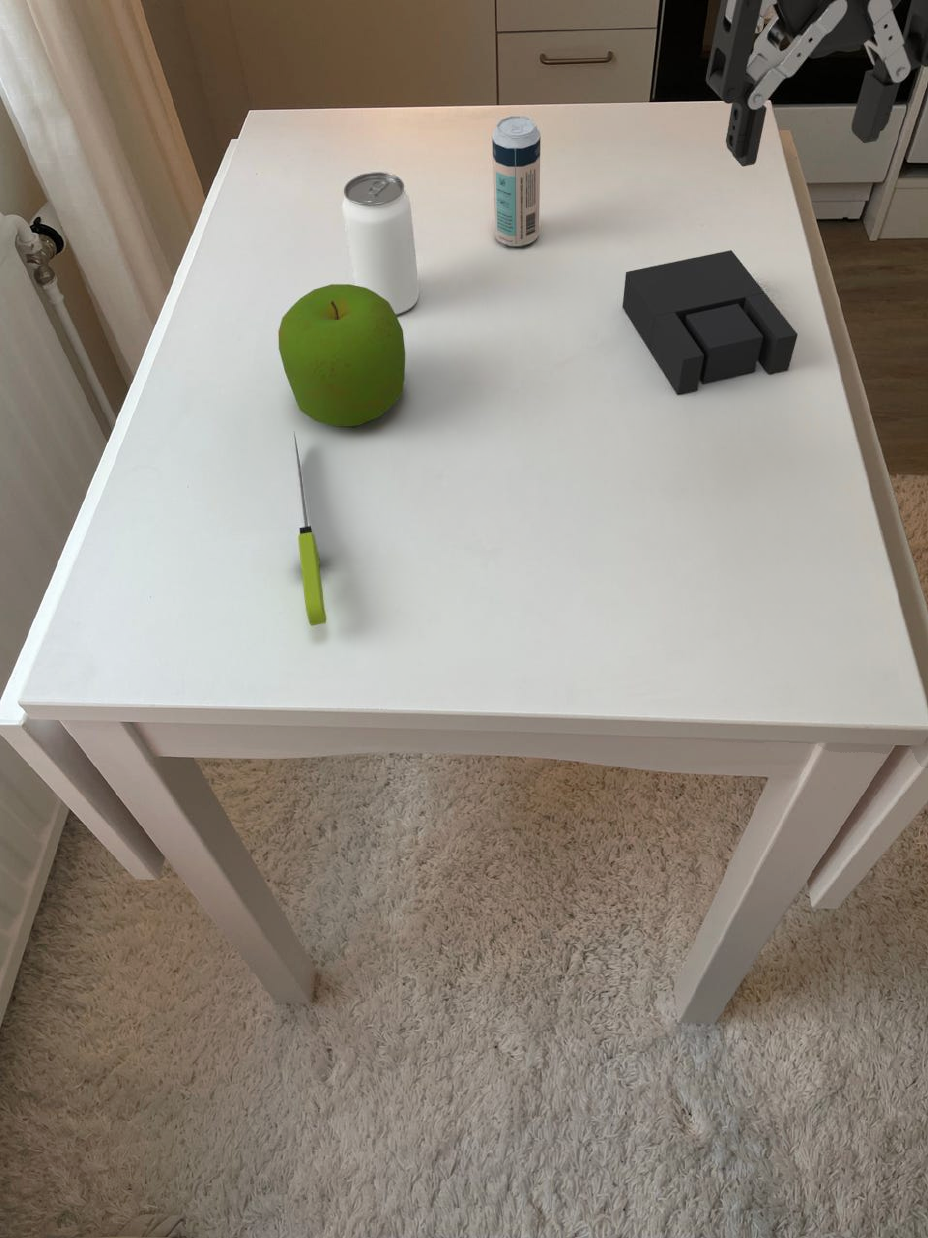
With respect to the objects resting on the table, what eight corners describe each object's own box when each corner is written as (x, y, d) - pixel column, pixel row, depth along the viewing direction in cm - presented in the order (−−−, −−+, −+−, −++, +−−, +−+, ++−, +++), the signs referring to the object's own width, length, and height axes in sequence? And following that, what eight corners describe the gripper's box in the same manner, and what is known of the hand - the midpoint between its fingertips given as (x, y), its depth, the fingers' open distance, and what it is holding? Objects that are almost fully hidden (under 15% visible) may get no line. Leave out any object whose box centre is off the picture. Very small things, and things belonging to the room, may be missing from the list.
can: (346, 311, 97) (327, 200, 87) (373, 276, 100) (357, 164, 91) (404, 324, 95) (391, 211, 86) (429, 287, 99) (419, 175, 89)
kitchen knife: (292, 456, 86) (286, 429, 84) (306, 454, 87) (300, 427, 84) (313, 639, 72) (305, 612, 70) (329, 635, 72) (322, 609, 70)
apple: (406, 439, 85) (393, 338, 77) (287, 442, 86) (260, 342, 77) (412, 360, 92) (401, 258, 83) (302, 363, 92) (279, 262, 84)
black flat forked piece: (788, 370, 88) (798, 334, 85) (677, 395, 87) (683, 359, 84) (724, 285, 97) (731, 249, 93) (622, 306, 95) (625, 271, 92)
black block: (730, 338, 92) (738, 303, 88) (754, 372, 88) (763, 336, 85) (680, 350, 91) (685, 314, 88) (702, 384, 88) (709, 348, 85)
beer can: (540, 225, 105) (541, 113, 95) (537, 249, 102) (539, 137, 92) (496, 224, 105) (493, 113, 95) (493, 249, 102) (490, 137, 93)
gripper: (784, -122, 46) (726, 198, 59) (1047, -164, 48) (934, 156, 61) (718, -166, 50) (678, 140, 63) (961, -203, 52) (873, 103, 65)
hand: (803, 148), depth 62 cm, fingers open, 8 cm apart
